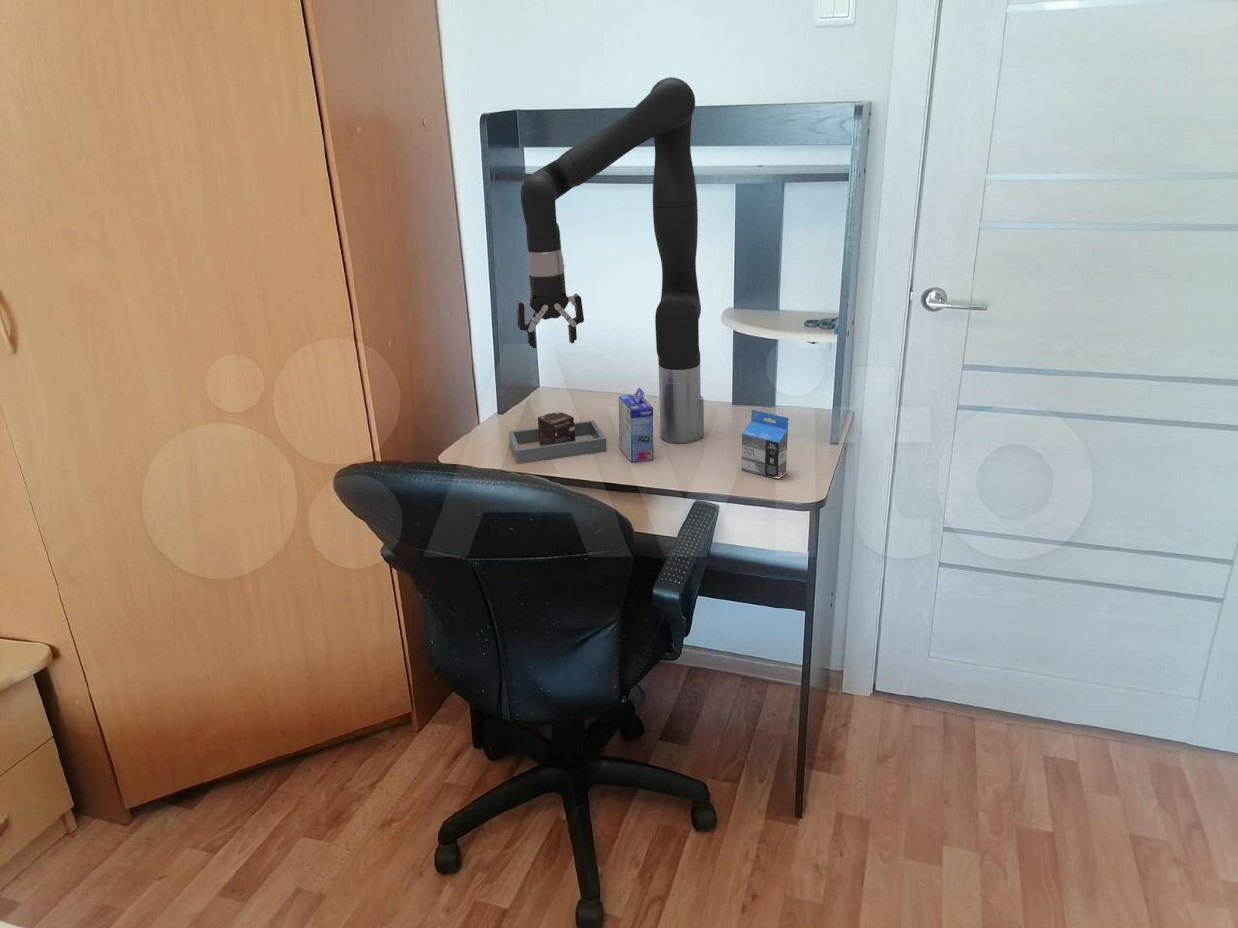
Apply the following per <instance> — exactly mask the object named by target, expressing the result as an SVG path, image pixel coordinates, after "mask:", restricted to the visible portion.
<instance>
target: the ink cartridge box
mask: <svg viewBox="0 0 1238 928" xmlns="http://www.w3.org/2000/svg"><path fill="white" fill-rule="evenodd" d="M644 394H645V392H644V391H643V390H642V389H641V387H638V388H637V390H636V392H635V393H634V394H627V395H620V396H618V445H619V446H618V447H619V448H620V450H621V451H622V452H623V454H624V455H625V456H626V457H627V459H628V461H629V462H630V463H633V462H634V463H635V462H645V461H653V460H654V457H655V456H654V407H653V406H652V405H651V404H650V402H648V400H647V399H646V398H645V397H644Z"/></svg>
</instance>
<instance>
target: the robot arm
mask: <svg viewBox="0 0 1238 928" xmlns="http://www.w3.org/2000/svg"><path fill="white" fill-rule="evenodd" d="M695 106H696V97H695V93H694V91H693V89H692V87H690V85H689V84H688V83H687V82H686V81H685V80H682V79H681V78H677V77H672V76H670V77H665V78H662V79H661V80H659V81H658V82H656V83H655V84H654V85H653V87H652V88H651V90H650V91H649V93H648V94H647V95H646V96H645V97H644V98H643V99H642V100H641V101H640V102H638V104H636V105H635V106H634V107H633V108H632V109H630V111H628V112H627V113H626V114H623V116H621V117H620V118H618V119H617V120H615V121H614V122H612V123H610V124H609V125H606V126H605V127H602V129H599V130H597V131H596V132H593V133H592V134H590V135H589V136H587V137H586V138H583V140H581V141H580V142H578V143H577V144H575V145H573V146H572V147H570V148H569V149H568V150H566V151H565V152H563V153H562V154H561V155H559V157H557V159H555V160H554V161H551V162H549V163H548V164H546V165H544V166H543V167H541V168H539V169H538V170H536V171H534V172H533V173H532V174H530V175H529V176H528V177H527V178H526V179H525V180H524V181H523V183H522V184H521V187H520V201H521V207H522V213H523V217H524V223H525V229H526V231H525V232H526V243H527V266H528V277H529V280H528V281H529V287H530V299H529V300H527V301H522V300H517V302H516V314H517V315H516V317H517V320H516V321H517V327H518V329H519V331H525V332H527V333H526V334H527V343H528V345H529V346H530V347H531V348H532V349H536V348H537V343H536V341H537V340H536V332H535V329H536V327H537V325H539V323H540V322H541V320H544V321H545V320H549V319H559V318H560V317H561V316H562V317H563V318H564V320H566V321H567V323H568V324H567V329H568V330H567V331H568V342H569V343H570V344H575V341H577V339H578V335H577V325H579V324H583V323H584V322H585V318H584V310H583V309H584V308H583V301H582V297H581V296H580V295H579V294H578V293H574V294H573V295H571V296H567V290H566V278H565V275H566V274H565V263H564V257H563V251H562V243H561V241H562V239H561V232H560V227H559V226H560V225H559V224H558V222H557V208H556V206H557V205H556V201H557V200H558V199H559V198H561V197H562V196H563V195H565V194H566V193H568V192H569V191H571V190H572V189H574V188H575V187H579V186H581V185H583V184H585V183H586V182H587V181H589V180H591V179H592V178H594V177H596V175H598V174H600V173H602V172H603V171H604V170H606V169H607V168H608V167H610V166H611V165H612V164H614V163H616V162H617V161H618V160H619V159H621V158H622V157H623V156H625V155H626V154H628V153H629V152H631V151H632V150H633V149H635V148H637V147H638V146H640V145H642V144H643V143H645V142H647V141H649V140H650V139H653V142H654V167H653V177H652V178H653V179H652V180H653V181H652V215H653V216H652V217H653V218H652V219H653V230H654V235H655V240H656V245H657V249H658V253H659V256H660V262H661V273H662V274H661V275H662V276H661V292H660V293H661V294H660V295H661V296H660V301H659V303H658V305H657V307H656V310H655V318H654V319H655V320H654V321H655V322H654V324H655V325H654V326H655V347H656V349H655V350H656V354H657V359H658V360H657V362H658V392H659V393H658V394H659V397H658V398H659V425H660V426H659V429H660V430H659V431H660V438H661V440H664V441H665V442H668V443H673V444H674V443H675V444H687V443H693V442H696V441H697V440H699V439H703V438H705V413H704V410H705V406H704V405H705V401H704V400H705V399H704V397H703V396H702V395H701V393H702V391H701V389H702V388H701V385H702V383H701V351H700V341H699V340H700V339H699V338H700V335H699V333H700V330H699V327H700V325H699V323H700V322H699V321H700V320H699V319H700V318H701V313H702V306H701V299H700V292H699V287H698V284H699V283H698V277H697V276H698V275H697V268H696V267H697V266H696V265H697V262H696V261H697V251H698V250H697V248H698V233H699V231H698V226H699V223H698V222H699V221H698V220H699V217H698V215H699V214H698V212H699V211H698V193H697V186H696V185H697V184H696V183H697V182H696V176H695V171H694V165H693V164H694V163H693V161H692V153H691V152H692V149H691V141H692V139H691V138H692V137H691V136H692V122H693V121H692V118H693V114H694V112H695V109H696V108H695ZM569 302H570V304H571V305H572V306H573V307H574V310H575V311H574V312H575V317H571V315H570V314H569V313H568V312H567V311H566V308H567V307H568V305H569ZM529 308H531V309H532V310H533V313H532V314H531V316H530V318H529V321H528V322H527V323H526V318H525V317H526V316H525V313H526V312H527V311H528V309H529Z"/></svg>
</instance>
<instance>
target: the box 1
mask: <svg viewBox="0 0 1238 928" xmlns="http://www.w3.org/2000/svg"><path fill="white" fill-rule="evenodd" d="M574 418H575V417H573V416H572V415H569V414H566V413H564V412H562V411H560V410H559V411H555V412H551V413H547V414H544V415H541V416H538V417H537V428H539V441H538V442H539V446H543V445H550V444H558V443H565V442H572V441H576V436H575V429H574V423H575V420H574Z"/></svg>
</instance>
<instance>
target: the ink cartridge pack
mask: <svg viewBox="0 0 1238 928" xmlns="http://www.w3.org/2000/svg"><path fill="white" fill-rule="evenodd" d="M750 417H751V419H750V422H749V423H748V424H747V426H746V428H745V429H744V430H743V431H742V433H741V470H742V471H746V472H748V471H749V472H750V473H752V472H755V473H754V474H756V473H758V474H757V475H759V474H762V475H761V476H763V475H766V476H765V477H767V476H771V477H780V476H781V475H783V474H784V473H785V472H786V473H787V464H788V462H787V461H788V459H787V458H788V457H787V456H788V439H789V436H788V435H789V434H788V433H789V417H786V416H781V415H777V414H772V413H768V412H764V411H759V410H755V409H751V416H750ZM764 419H770V420H772V421H775V422H771V421H767V420H764ZM749 472H748V473H749Z"/></svg>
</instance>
